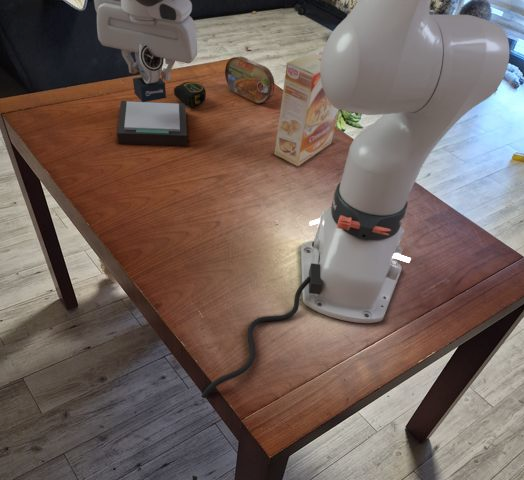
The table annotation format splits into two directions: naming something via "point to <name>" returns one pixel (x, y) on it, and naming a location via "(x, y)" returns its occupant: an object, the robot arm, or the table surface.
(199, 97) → the tape measure
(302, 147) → the coffeecake box
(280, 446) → the table surface
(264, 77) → the tin
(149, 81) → the watch
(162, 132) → the scale
